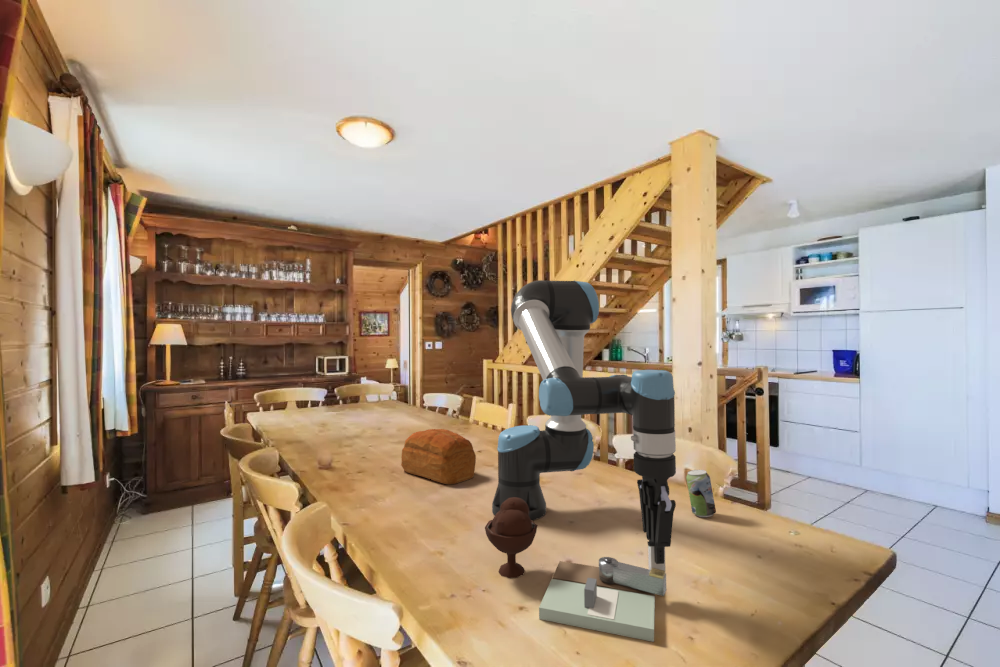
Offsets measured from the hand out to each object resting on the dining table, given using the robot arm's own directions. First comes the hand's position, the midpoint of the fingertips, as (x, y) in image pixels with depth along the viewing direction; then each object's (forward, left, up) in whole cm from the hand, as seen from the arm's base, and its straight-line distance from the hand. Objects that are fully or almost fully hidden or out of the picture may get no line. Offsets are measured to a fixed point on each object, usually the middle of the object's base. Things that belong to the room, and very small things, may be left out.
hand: (657, 577), depth 87 cm
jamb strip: (-10, 0, -4) cm, 11 cm away
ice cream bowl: (-29, 0, -4) cm, 29 cm away
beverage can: (+11, +45, -4) cm, 47 cm away
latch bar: (-5, -2, -1) cm, 5 cm away
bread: (-75, +57, -4) cm, 94 cm away
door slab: (-10, -9, -4) cm, 14 cm away
